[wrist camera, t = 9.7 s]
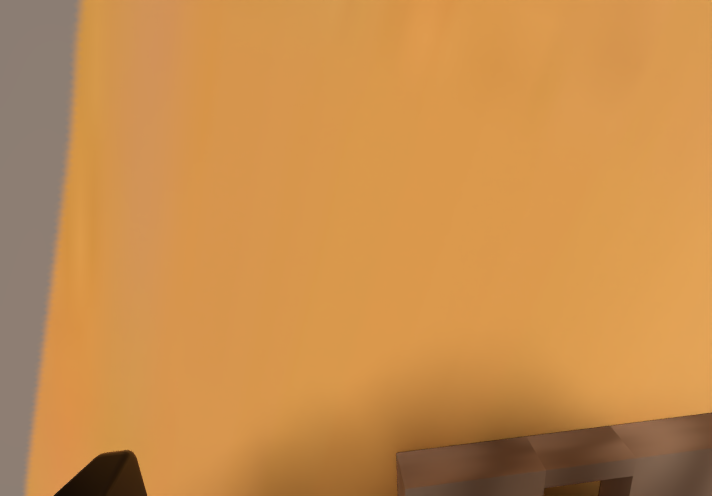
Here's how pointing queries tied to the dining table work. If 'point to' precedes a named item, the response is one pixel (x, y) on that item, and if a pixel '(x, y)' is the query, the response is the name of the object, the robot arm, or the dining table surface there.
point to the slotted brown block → (571, 462)
